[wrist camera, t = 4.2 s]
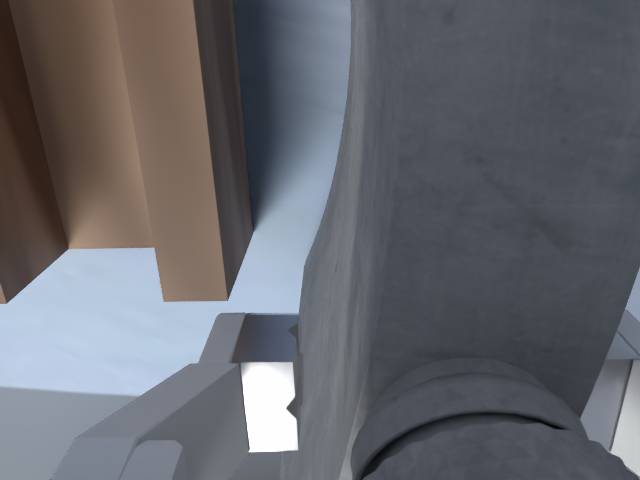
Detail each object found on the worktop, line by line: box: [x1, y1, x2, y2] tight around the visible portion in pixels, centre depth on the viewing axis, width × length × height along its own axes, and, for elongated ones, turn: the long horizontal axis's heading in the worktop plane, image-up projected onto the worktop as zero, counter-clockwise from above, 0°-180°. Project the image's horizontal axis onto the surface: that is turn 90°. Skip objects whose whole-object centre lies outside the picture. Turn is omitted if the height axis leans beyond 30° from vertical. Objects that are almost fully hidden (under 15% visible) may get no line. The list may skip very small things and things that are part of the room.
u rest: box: [0, 0, 253, 304], centre depth 19 cm, size 11×18×6 cm, turn 2°
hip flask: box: [280, 0, 640, 480], centre depth 15 cm, size 16×4×20 cm, turn 171°
